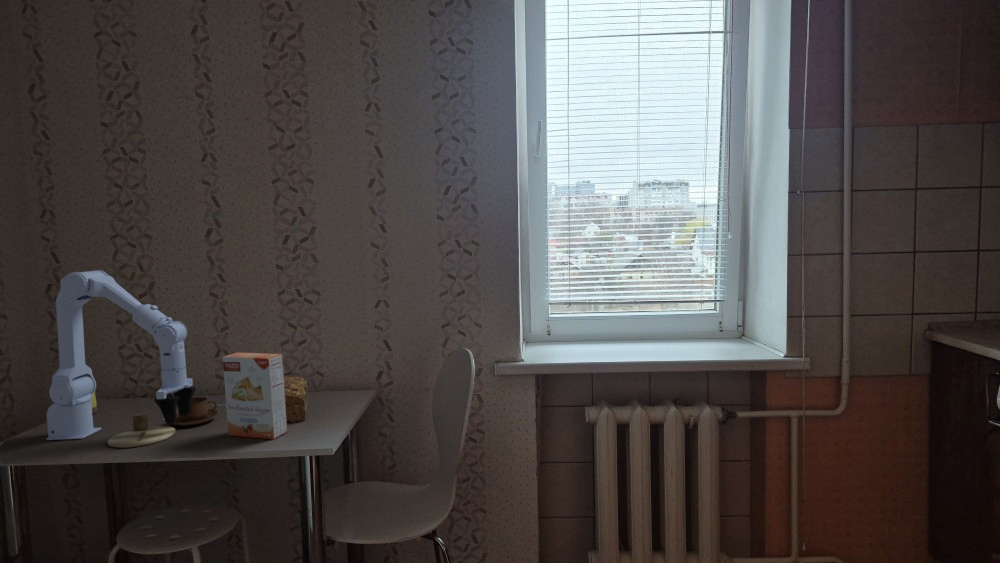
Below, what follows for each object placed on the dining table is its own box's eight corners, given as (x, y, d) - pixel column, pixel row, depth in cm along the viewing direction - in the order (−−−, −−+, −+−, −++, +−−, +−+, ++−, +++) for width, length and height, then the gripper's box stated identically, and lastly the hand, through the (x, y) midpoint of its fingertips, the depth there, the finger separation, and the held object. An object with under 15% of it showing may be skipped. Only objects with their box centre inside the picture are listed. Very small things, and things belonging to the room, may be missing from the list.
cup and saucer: (201, 413, 177) (199, 393, 176) (226, 419, 170) (225, 397, 170) (160, 425, 166) (158, 403, 166) (186, 431, 160) (184, 408, 160)
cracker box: (226, 437, 154) (221, 356, 153) (243, 429, 160) (237, 351, 158) (273, 440, 150) (267, 357, 149) (288, 432, 156) (283, 352, 154)
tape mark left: (161, 420, 171) (161, 419, 171) (170, 415, 176) (170, 414, 176) (165, 420, 171) (165, 419, 171) (174, 415, 176) (174, 414, 176)
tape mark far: (211, 406, 184) (211, 405, 184) (212, 405, 185) (212, 405, 185) (227, 405, 184) (227, 405, 184) (228, 404, 185) (228, 404, 185)
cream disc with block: (114, 433, 160) (112, 416, 159) (178, 424, 166) (176, 408, 165) (101, 451, 146) (100, 432, 146) (172, 441, 152) (170, 423, 151)
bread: (273, 408, 181) (271, 375, 180) (310, 404, 183) (308, 371, 183) (265, 426, 163) (263, 389, 162) (307, 421, 165) (305, 386, 165)
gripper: (174, 373, 152) (178, 426, 153) (202, 361, 166) (205, 410, 167) (146, 375, 152) (150, 427, 153) (176, 363, 166) (180, 411, 167)
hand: (177, 418), depth 160 cm, fingers open, 6 cm apart
